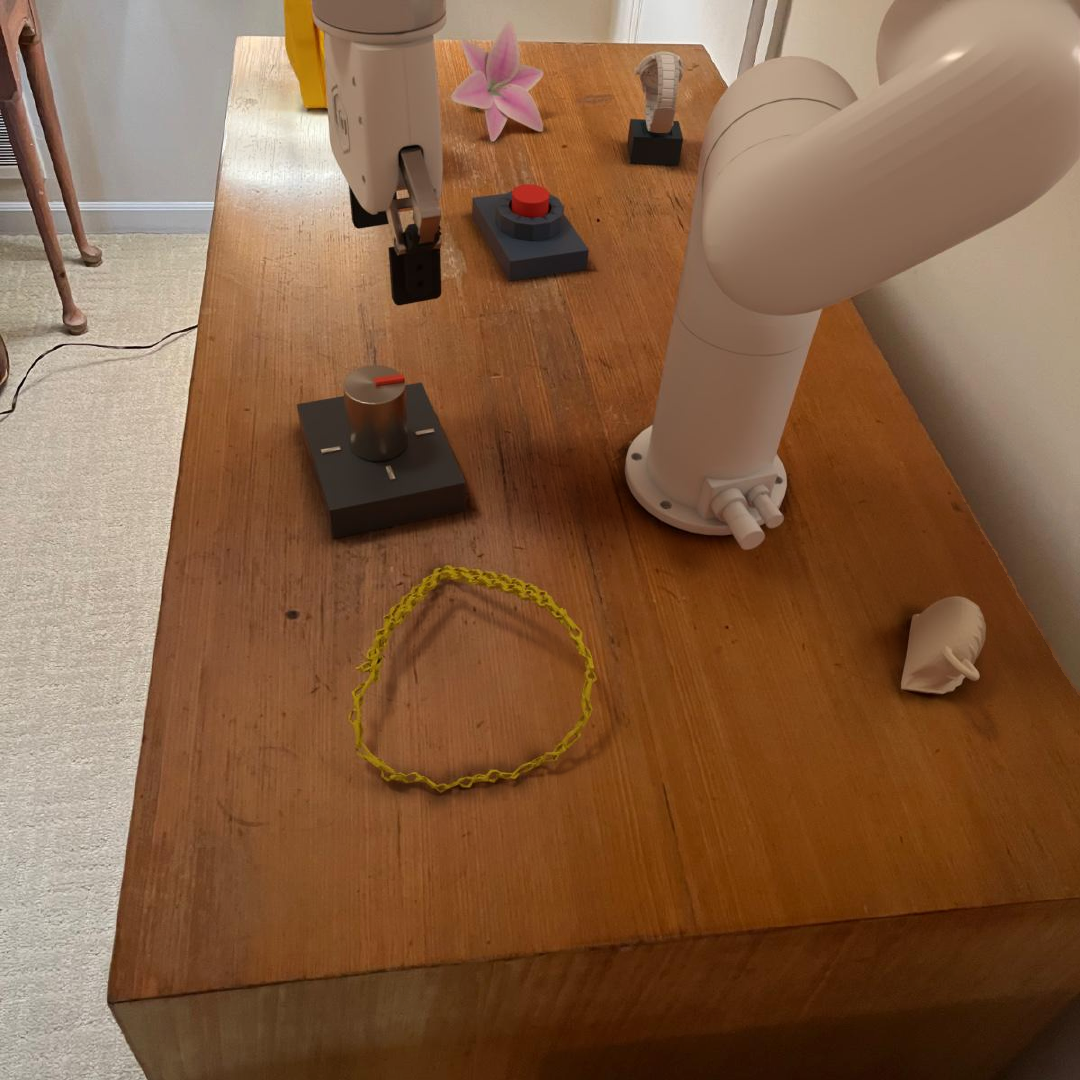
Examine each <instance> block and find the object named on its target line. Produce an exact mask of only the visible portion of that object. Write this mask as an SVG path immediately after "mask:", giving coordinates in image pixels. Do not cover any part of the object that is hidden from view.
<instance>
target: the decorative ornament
mask: <svg viewBox="0 0 1080 1080" xmlns="http://www.w3.org/2000/svg"><path fill="white" fill-rule="evenodd" d="M986 631H987V626H986V622H985V617H984V614H983V612H982V611H981V608H980V605H978V604H976V603H975V602H974V601H972V600H970V599H969V598H967V597H964V596H958V595H955V596H948V597H944V598H942V599H940V600H937V601H936V602H935V601H934V602H933V603H932V604H930V605H929V606H928V607H927V608H925V609H924V610H923V611H922V612H920V613H916V614H913V615H912V617H911V622H910V627H909V636H908V644H907V651H906V657H905V660H904V666H903V672H902V676H901V682H900V688H901V690H905V691H910V692H911V691H912V692H918V693H924V694H925V693H926V694H934V695H935V694H936V695H944V694H946V693H951V692H954V691H955V689H957V688H958V687H959V686H961V685H962V683H963V680H964V679H965V678H966V679H968V680H970V681H972V682H973V681H974V682H976V681H978V680H979V679H980V672H979V670H977V668H976V667H975V663H976V661H977V659H978V658H979V656H980V654H981V651H982V648H983V647H984V644H985V641H986ZM956 687H957V688H956Z"/></svg>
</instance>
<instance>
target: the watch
mask: <svg viewBox="0 0 1080 1080" xmlns="http://www.w3.org/2000/svg"><path fill="white" fill-rule="evenodd" d="M684 65H685V64H684V61H683V58H681V56H680V55H678V54H676V53H673V52H670V51H657V52H653V53H650V54H648V55H646V56H645V57H644V58H643V59H641V61H640V63H639V65H638V66H636V67H635V70H634V73H635V76H638V75H639V80H640V83H641V88H642V89H641V90H642V93H643V94H645V102H644V103H645V106H644V107H645V108H644V109H645V111H644V112H645V117H644V118H645V119H641V118H630V119H629V127H628V134H627V140H626V141H627V142H626V148H627V154H628V159H629V163H630V165H632V164H633V165H654V166H676V167H679V166H680V160H681V155H682V148H683V143H684V137H683V133H682V128H681V125H680V122H679V120H675V116H676V112H677V107H676V105H677V104H676V103H677V99H678V89H679V83H680V82H681V80H682V79H683V76H684V67H685V66H684Z"/></svg>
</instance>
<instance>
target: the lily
mask: <svg viewBox="0 0 1080 1080" xmlns="http://www.w3.org/2000/svg"><path fill="white" fill-rule="evenodd" d="M459 40H460V41H459V43H460V46H461V48H462V52H463V54H464V56H465V58H466V61H467V63H468V65H469V67H470V69H471V72H472V73H470V74H469V75H468V76H467V77H466V78H465V79H464V80H463V81H462V82H461V83H460V84H459V85H458V86H457V87H456V88H455V89H454V90H453V92H452V94H451V96H450V100H452V101H453V102H454V103H457V104H459V105H464V106H468V107H473V108H475V109H474V110H475V111H476V112H478V110H479V109H483V110H484V115H485V121H486V127H487V130H488V135H489V140H490V141H491V142H492V143H493V142H495V141H496V140H497V139H498V137H499V136H500V134H501V133H502V131H503V129H504V127H505V125H506V123H507V122H508V121H507V120H508V118H509V119H512V120H513V121H515V122H518V123H520V124H521V125H524V126H526V127H528V128H530V129H531V130H533V131H535V132H540V133H541V132H543V131H544V124H543V121H542V117H541V113H540V111H539V109H538V106H537V104H536V102H535V100H534V98H533V96H532V95H531V93H530V92H529V91H530V90H531V89H533V88H534V87H535V86H536V85H537V84H538V83H539V82H540V80H541V79H542V78H543V76H544V71H543V70H542V69H540V68H538V67H535V66H531V65H528V64H521V51H520V45H519V40H518V36H517V32H516V28H515V26H514V24H513V21H511V20H507V21H506V22H505V24H504V25H503V26H502V28H501V30H500V31H499V33H498V35H497V37H495V40H494V41H493V43H492V45H491V47H490V50H489V51H486V50H485V49H483V48H482V47H480V46H479V45H477V44H475V43H473V42H470V41H468V40H465V39H459Z"/></svg>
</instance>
